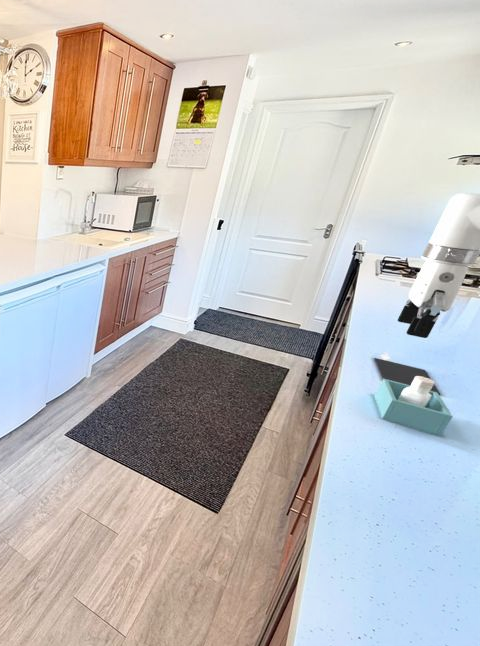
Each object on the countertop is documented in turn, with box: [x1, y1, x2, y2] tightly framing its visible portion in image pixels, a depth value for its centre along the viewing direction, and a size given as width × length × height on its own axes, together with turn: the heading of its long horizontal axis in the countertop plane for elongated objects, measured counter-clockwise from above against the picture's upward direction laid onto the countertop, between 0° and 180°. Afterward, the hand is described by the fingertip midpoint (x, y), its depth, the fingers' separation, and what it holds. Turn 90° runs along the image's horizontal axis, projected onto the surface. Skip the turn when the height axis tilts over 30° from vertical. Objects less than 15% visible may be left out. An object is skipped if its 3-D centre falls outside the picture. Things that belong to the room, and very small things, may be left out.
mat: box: [373, 357, 441, 396], centre depth 115 cm, size 11×17×1 cm, turn 143°
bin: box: [373, 379, 453, 437], centre depth 95 cm, size 10×13×5 cm
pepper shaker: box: [398, 376, 435, 407], centre depth 94 cm, size 4×4×10 cm
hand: (411, 329), depth 91 cm, fingers open, 9 cm apart
